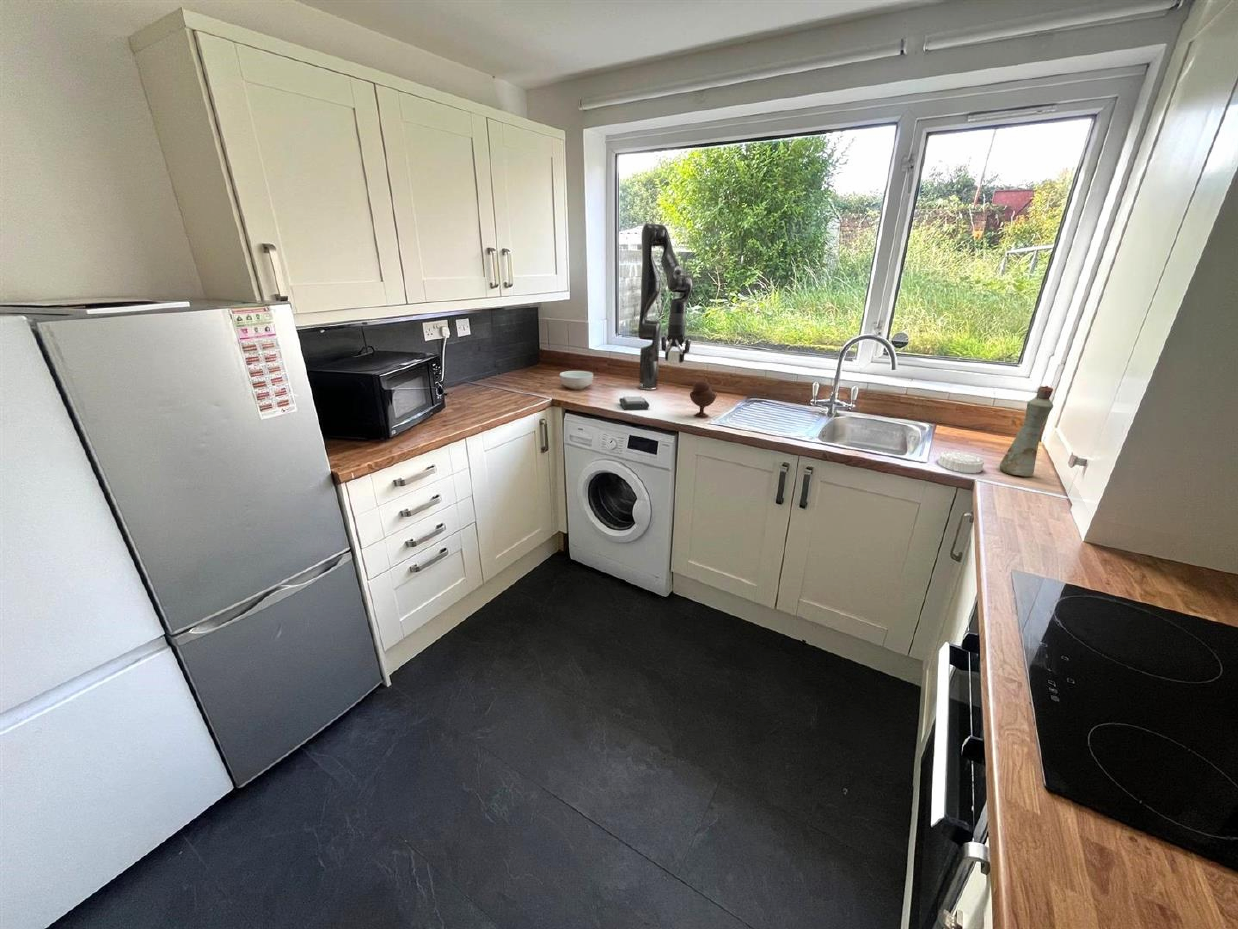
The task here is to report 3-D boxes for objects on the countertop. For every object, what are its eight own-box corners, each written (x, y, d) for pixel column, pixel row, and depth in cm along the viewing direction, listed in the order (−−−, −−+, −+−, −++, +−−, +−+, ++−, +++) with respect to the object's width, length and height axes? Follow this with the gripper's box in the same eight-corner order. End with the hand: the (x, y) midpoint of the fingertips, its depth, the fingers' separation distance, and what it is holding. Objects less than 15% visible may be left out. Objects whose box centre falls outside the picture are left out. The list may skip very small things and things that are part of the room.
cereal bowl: (564, 383, 258) (564, 369, 255) (595, 385, 256) (596, 371, 253) (555, 390, 242) (555, 375, 239) (589, 392, 240) (589, 378, 237)
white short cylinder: (665, 361, 228) (666, 350, 226) (678, 361, 230) (679, 350, 228) (669, 364, 223) (670, 352, 221) (682, 364, 224) (683, 352, 222)
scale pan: (623, 400, 220) (623, 396, 220) (640, 399, 222) (641, 396, 221) (626, 404, 213) (627, 401, 212) (645, 404, 214) (645, 400, 214)
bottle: (1003, 475, 155) (1033, 386, 144) (994, 465, 163) (1022, 381, 152) (1036, 480, 152) (1070, 390, 142) (1026, 470, 160) (1057, 384, 150)
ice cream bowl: (716, 420, 202) (720, 383, 197) (689, 419, 202) (692, 382, 197) (712, 413, 212) (716, 378, 207) (686, 412, 212) (689, 377, 207)
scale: (619, 403, 222) (619, 398, 221) (643, 403, 224) (643, 397, 223) (624, 410, 212) (624, 404, 211) (648, 409, 214) (649, 404, 213)
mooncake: (985, 476, 154) (988, 465, 152) (940, 469, 158) (943, 458, 157) (977, 463, 164) (980, 453, 163) (935, 457, 168) (938, 447, 167)
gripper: (658, 322, 220) (656, 360, 226) (688, 325, 213) (684, 364, 219) (666, 321, 226) (664, 358, 232) (695, 324, 219) (692, 362, 225)
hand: (674, 361), depth 226 cm, fingers closed on white short cylinder, 6 cm apart
